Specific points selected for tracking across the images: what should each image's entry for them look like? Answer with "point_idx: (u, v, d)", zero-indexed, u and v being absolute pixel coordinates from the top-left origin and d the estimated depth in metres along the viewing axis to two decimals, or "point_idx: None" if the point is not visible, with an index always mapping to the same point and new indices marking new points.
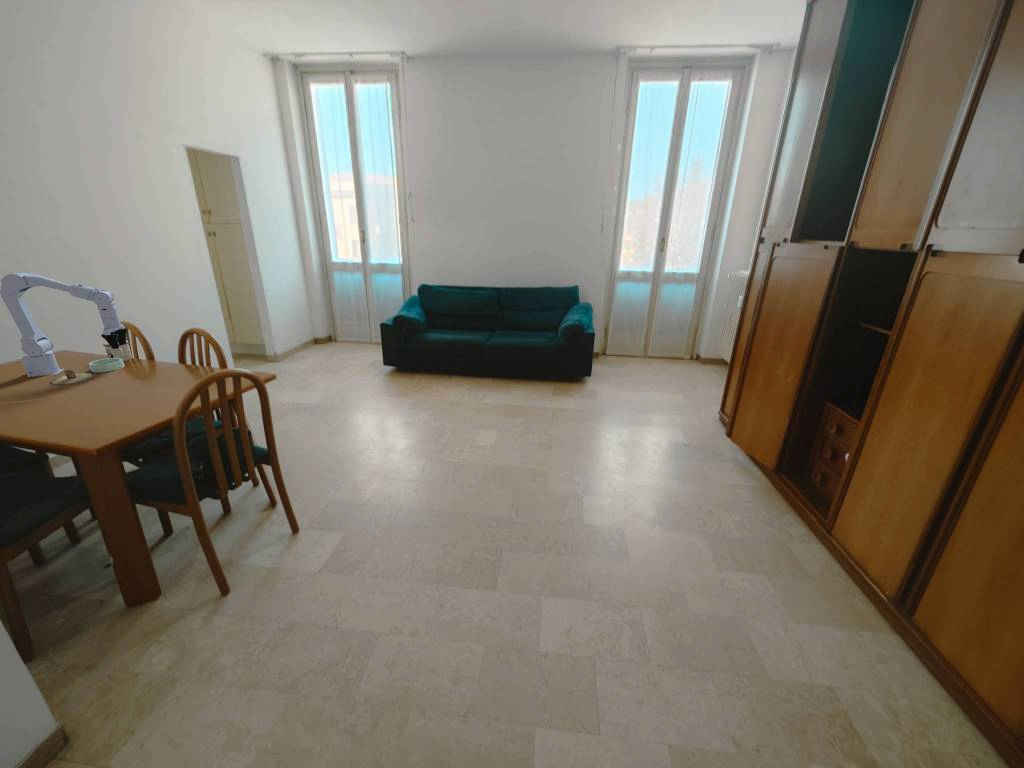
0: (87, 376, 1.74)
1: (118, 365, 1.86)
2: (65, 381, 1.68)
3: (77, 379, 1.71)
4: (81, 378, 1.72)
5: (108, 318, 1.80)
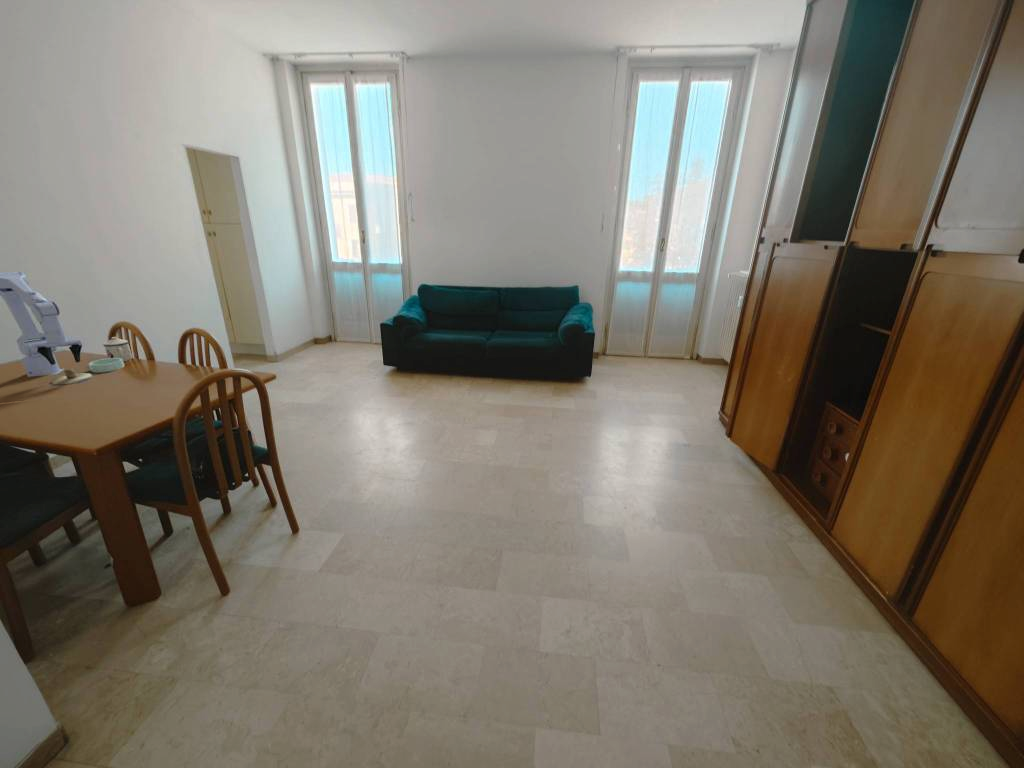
0: (87, 376, 1.74)
1: (118, 365, 1.86)
2: (65, 381, 1.68)
3: (77, 379, 1.71)
4: (81, 378, 1.72)
5: (44, 332, 1.62)
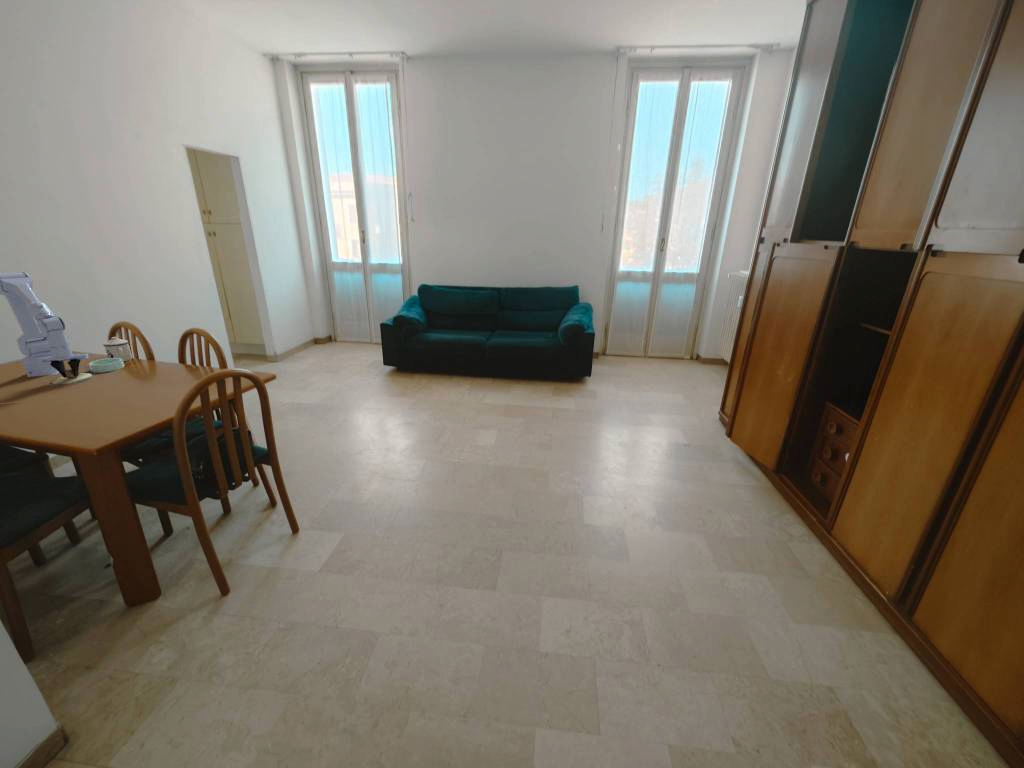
0: (87, 376, 1.74)
1: (118, 365, 1.86)
2: (65, 381, 1.68)
3: (77, 379, 1.71)
4: (81, 378, 1.72)
5: (50, 347, 1.64)
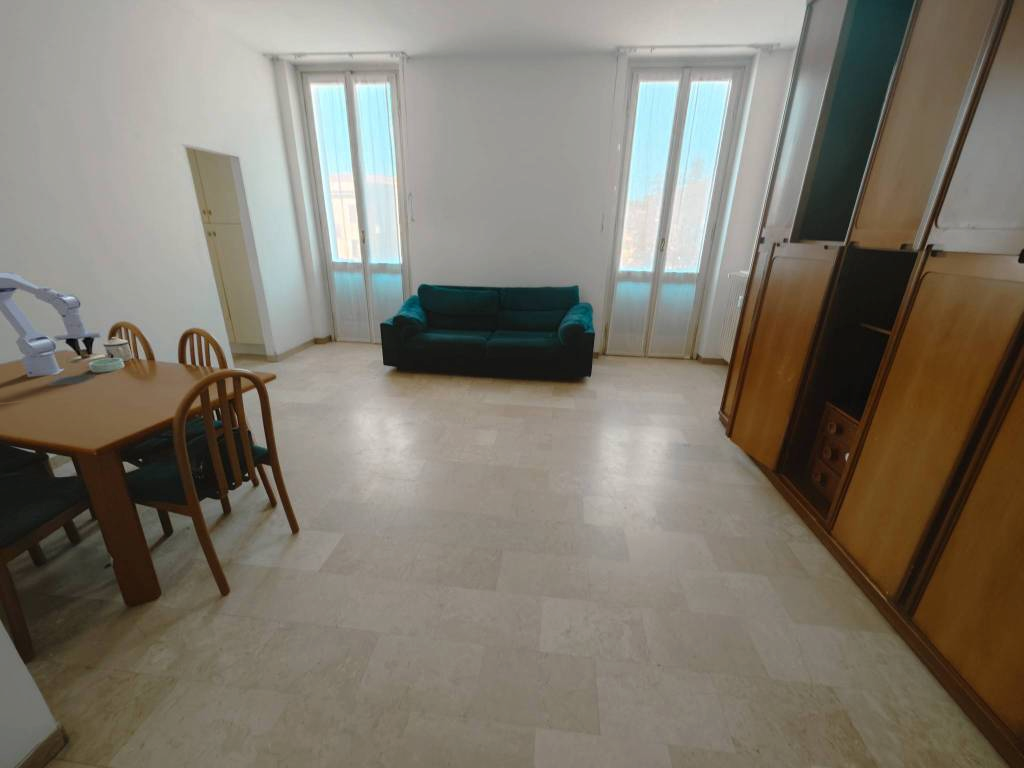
0: (100, 356, 1.79)
1: (118, 365, 1.86)
2: (79, 360, 1.73)
3: (90, 358, 1.75)
4: (94, 357, 1.76)
5: (68, 325, 1.69)
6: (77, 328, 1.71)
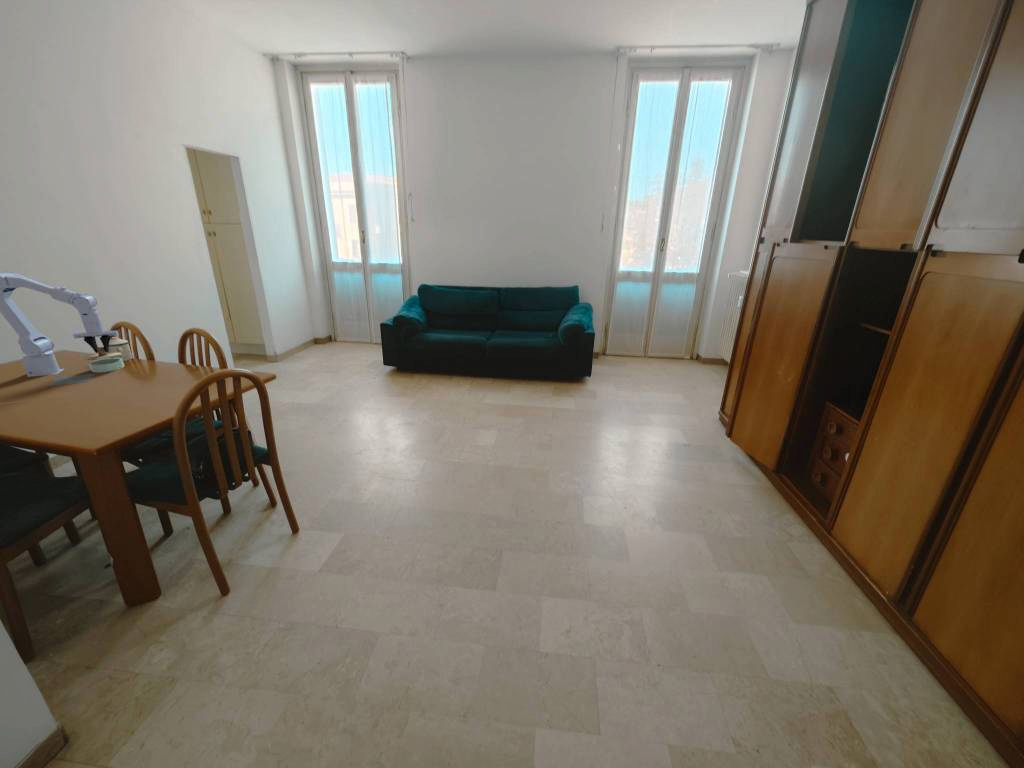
0: (116, 354, 1.85)
1: (118, 365, 1.86)
2: (96, 357, 1.80)
3: (107, 356, 1.82)
4: (111, 355, 1.83)
5: (89, 323, 1.76)
6: (95, 326, 1.78)
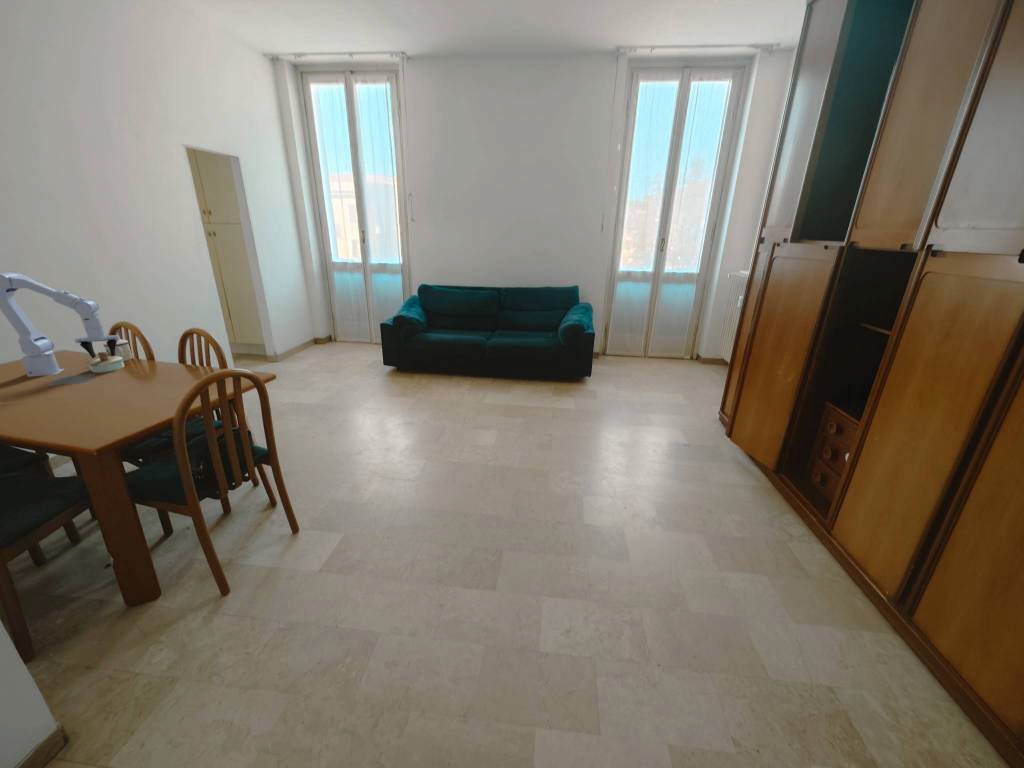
0: (118, 359, 1.86)
1: (118, 365, 1.86)
2: (98, 363, 1.81)
3: (109, 361, 1.83)
4: (112, 360, 1.84)
5: (91, 328, 1.77)
6: (97, 331, 1.79)
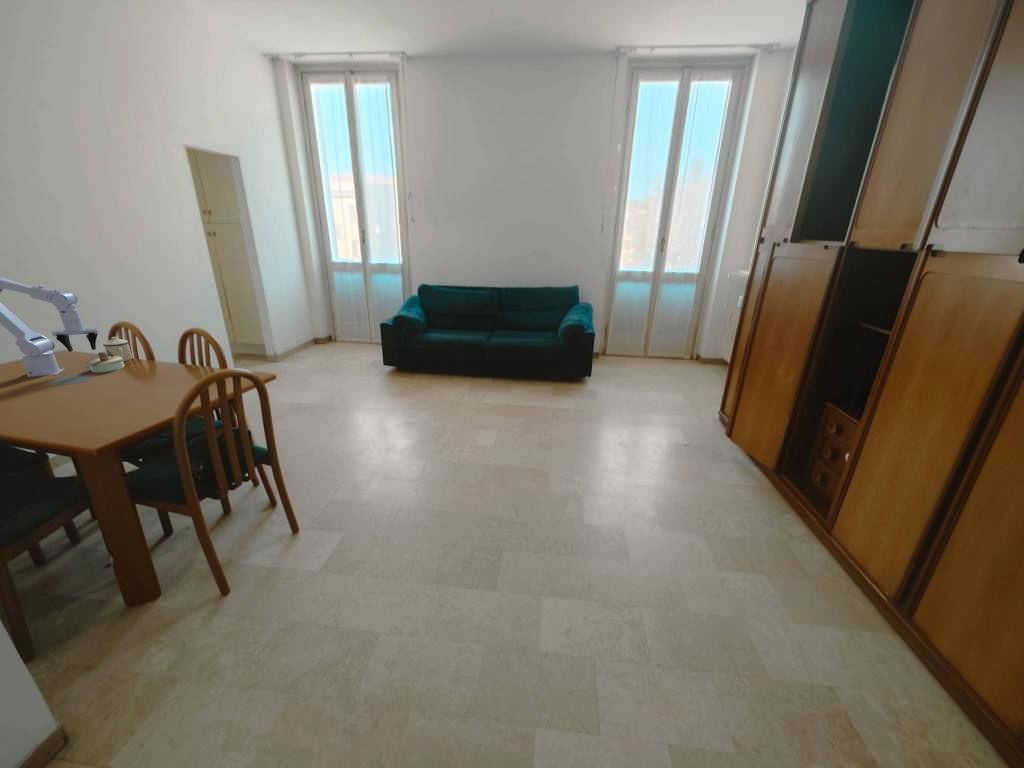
0: (118, 359, 1.86)
1: (118, 365, 1.86)
2: (98, 363, 1.81)
3: (109, 361, 1.83)
4: (112, 360, 1.84)
5: (67, 321, 1.72)
6: (75, 324, 1.74)
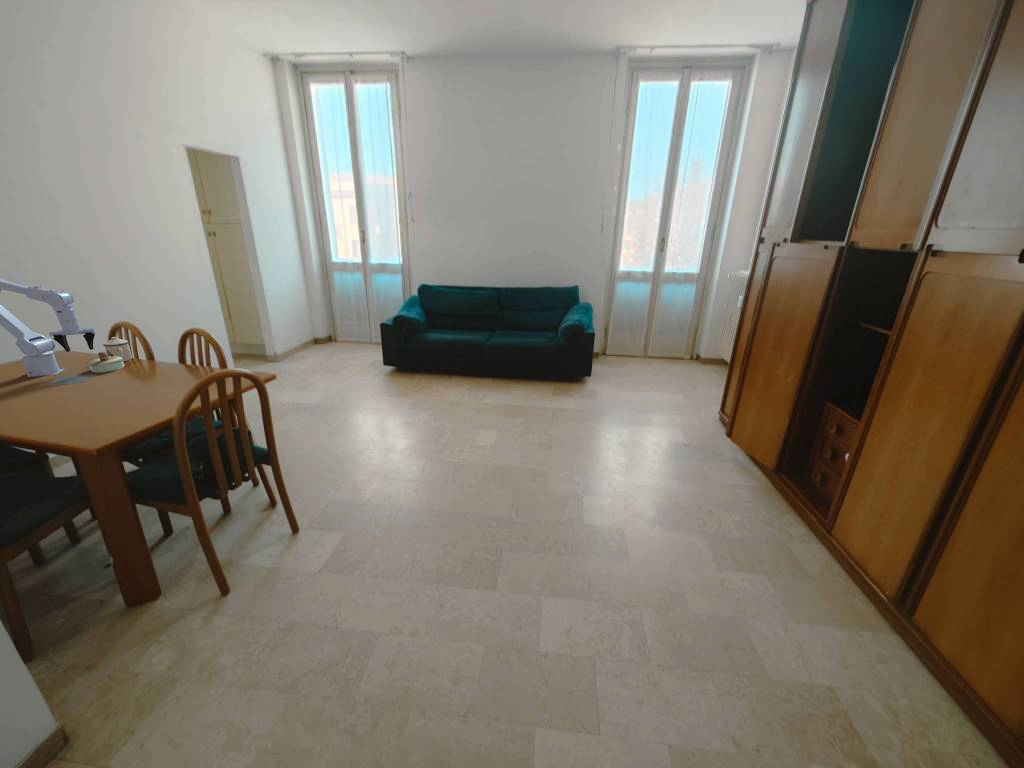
0: (118, 359, 1.86)
1: (118, 365, 1.86)
2: (98, 363, 1.81)
3: (109, 361, 1.83)
4: (112, 360, 1.84)
5: (64, 321, 1.72)
6: (71, 324, 1.73)
